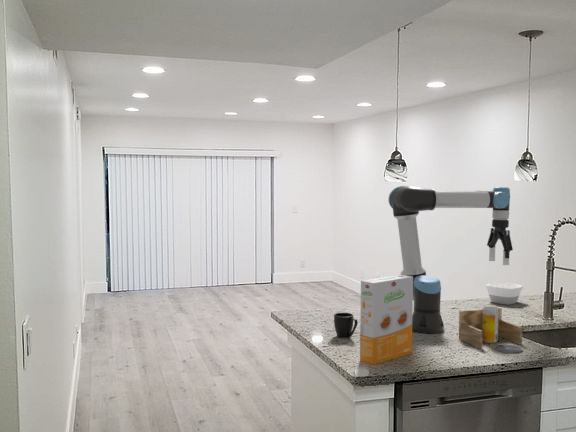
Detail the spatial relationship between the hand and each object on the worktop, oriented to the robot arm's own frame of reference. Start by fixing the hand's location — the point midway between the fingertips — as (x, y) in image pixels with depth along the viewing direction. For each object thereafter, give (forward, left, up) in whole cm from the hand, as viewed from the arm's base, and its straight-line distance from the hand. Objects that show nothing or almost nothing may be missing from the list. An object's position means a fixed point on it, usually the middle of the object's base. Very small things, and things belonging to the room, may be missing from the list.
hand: (498, 263), depth 281 cm
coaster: (-29, -45, -27) cm, 60 cm away
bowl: (+28, +31, -27) cm, 50 cm away
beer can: (-29, -33, -27) cm, 52 cm away
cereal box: (-80, -39, -27) cm, 93 cm away
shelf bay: (-29, -33, -27) cm, 52 cm away
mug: (-84, -10, -27) cm, 89 cm away
